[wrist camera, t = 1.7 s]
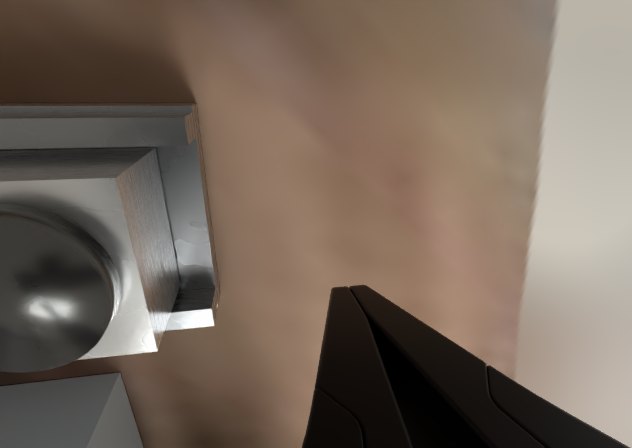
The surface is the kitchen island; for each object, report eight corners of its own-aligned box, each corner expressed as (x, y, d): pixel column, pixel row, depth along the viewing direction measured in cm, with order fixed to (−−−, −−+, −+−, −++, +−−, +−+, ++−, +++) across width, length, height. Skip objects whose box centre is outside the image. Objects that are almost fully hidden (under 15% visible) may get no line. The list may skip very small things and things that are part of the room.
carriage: (154, 147, 11) (102, 188, 7) (180, 284, 13) (150, 372, 9) (-34, 151, 10) (-209, 199, 6) (27, 297, 12) (-76, 399, 9)
